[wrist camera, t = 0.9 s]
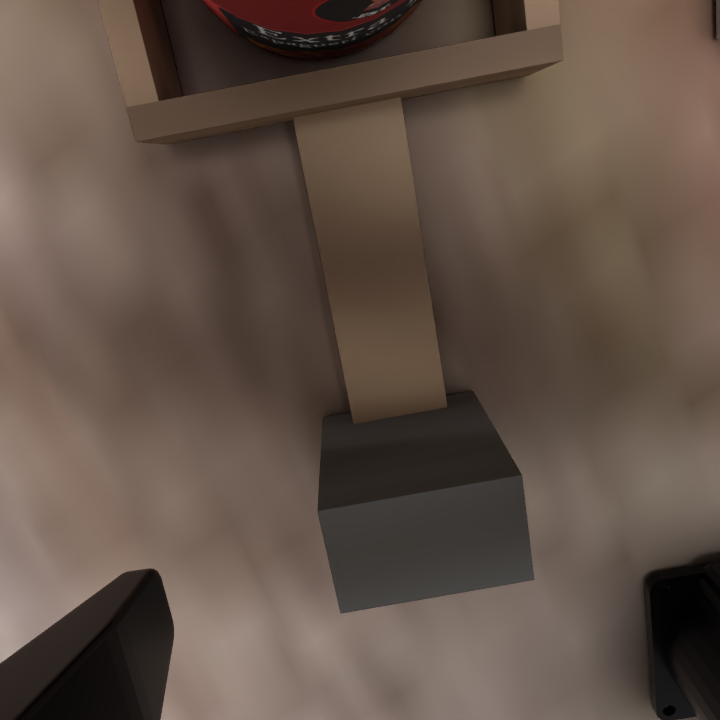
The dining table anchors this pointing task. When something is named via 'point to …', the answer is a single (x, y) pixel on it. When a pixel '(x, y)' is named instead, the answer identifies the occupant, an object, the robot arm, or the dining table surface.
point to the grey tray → (718, 18)
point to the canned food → (313, 23)
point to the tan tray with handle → (374, 300)
